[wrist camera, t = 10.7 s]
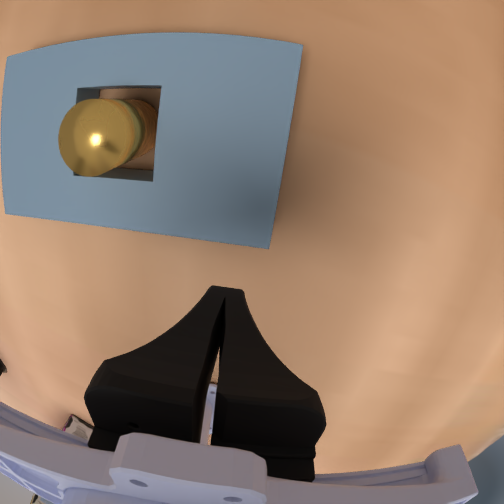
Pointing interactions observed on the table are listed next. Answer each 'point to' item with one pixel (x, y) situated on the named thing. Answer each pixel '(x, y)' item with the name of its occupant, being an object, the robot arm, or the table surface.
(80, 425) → the candy bar box
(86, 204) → the jig
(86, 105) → the brass cylinder
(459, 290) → the table surface
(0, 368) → the radio
